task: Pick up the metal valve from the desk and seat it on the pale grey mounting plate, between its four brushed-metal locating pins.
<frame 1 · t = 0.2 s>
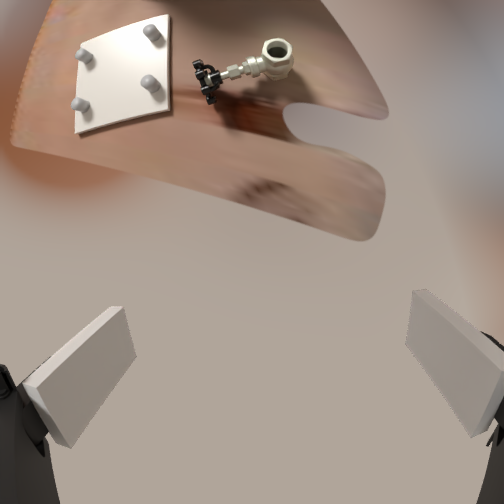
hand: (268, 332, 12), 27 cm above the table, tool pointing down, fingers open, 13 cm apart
mounting plate: (120, 72, 35), on the table
valve: (249, 77, 35), on the table
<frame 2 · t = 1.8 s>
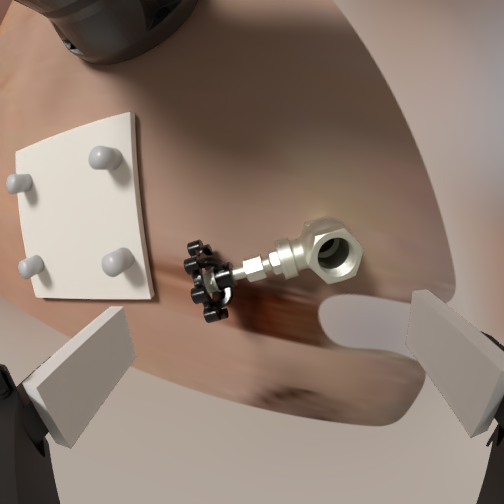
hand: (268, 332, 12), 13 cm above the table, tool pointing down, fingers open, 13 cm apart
mounting plate: (73, 215, 25), on the table
valve: (276, 250, 25), on the table
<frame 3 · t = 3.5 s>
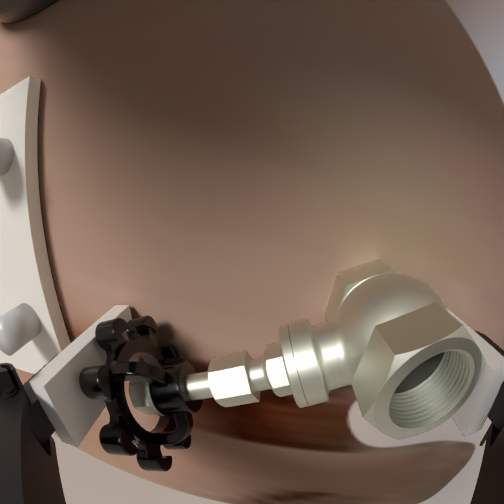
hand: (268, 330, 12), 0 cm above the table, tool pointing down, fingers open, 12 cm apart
valve: (280, 323, 13), on the table, touching gripper
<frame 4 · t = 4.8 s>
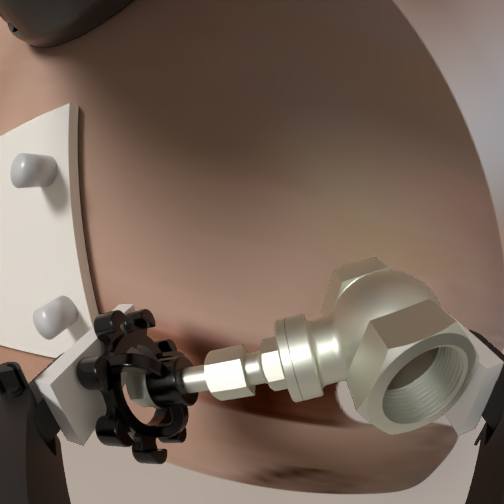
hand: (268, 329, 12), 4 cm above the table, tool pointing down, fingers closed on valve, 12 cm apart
mounting plate: (11, 246, 17), on the table
valve: (276, 319, 13), point 3 cm above the table, touching gripper
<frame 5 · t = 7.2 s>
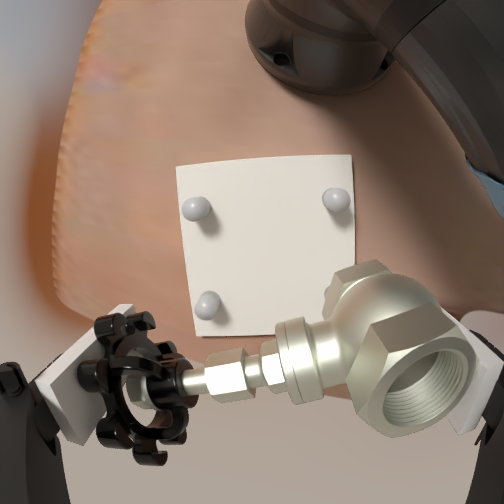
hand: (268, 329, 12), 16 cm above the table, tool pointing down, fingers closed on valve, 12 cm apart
mounting plate: (269, 249, 28), on the table
valve: (277, 321, 13), point 15 cm above the table, touching gripper
when the fingers open (2 cm above the table, at t = 9.7 s): valve drops 1 cm, resting on mounting plate.
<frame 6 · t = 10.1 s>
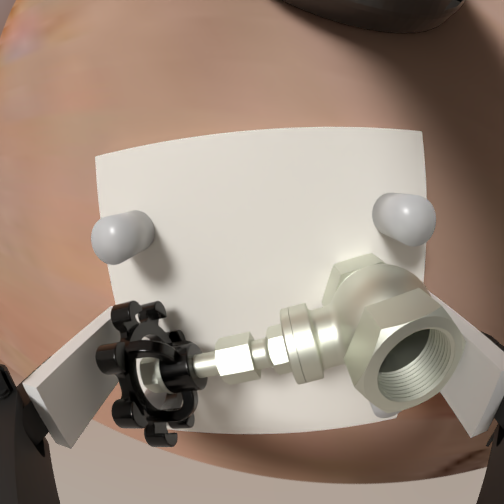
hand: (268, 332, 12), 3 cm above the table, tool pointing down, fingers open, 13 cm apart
mounting plate: (268, 307, 15), on the table
valve: (280, 311, 14), point 1 cm above the table, touching mounting plate
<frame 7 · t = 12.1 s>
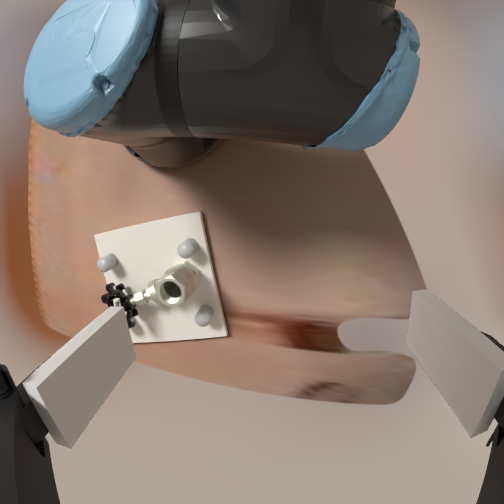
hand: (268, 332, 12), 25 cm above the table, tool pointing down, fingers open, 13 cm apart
mounting plate: (159, 283, 39), on the table
valve: (162, 283, 38), point 1 cm above the table, touching mounting plate
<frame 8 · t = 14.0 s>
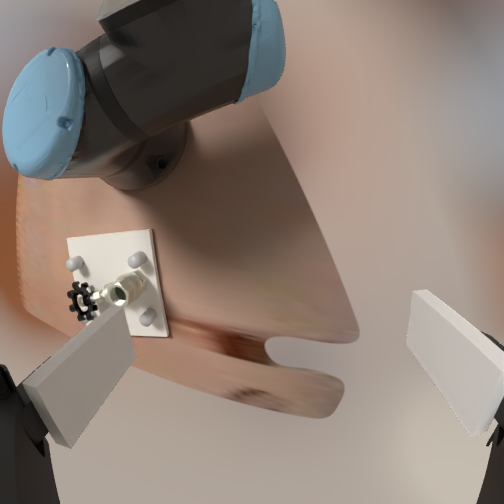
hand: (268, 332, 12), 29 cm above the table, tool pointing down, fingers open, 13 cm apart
mounting plate: (115, 285, 44), on the table
valve: (118, 286, 43), point 1 cm above the table, touching mounting plate
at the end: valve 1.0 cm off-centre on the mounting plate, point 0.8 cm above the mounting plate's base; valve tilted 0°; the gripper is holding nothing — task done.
